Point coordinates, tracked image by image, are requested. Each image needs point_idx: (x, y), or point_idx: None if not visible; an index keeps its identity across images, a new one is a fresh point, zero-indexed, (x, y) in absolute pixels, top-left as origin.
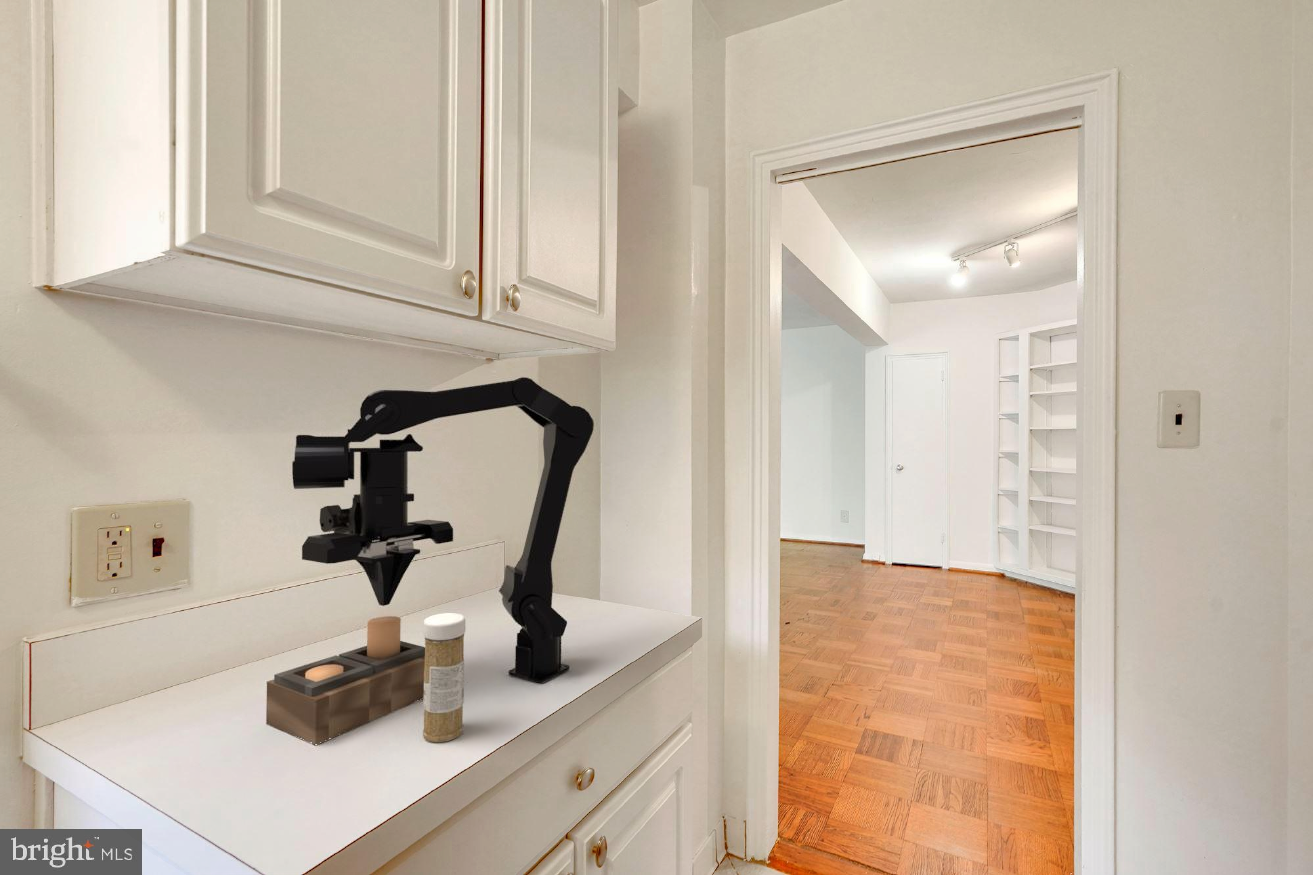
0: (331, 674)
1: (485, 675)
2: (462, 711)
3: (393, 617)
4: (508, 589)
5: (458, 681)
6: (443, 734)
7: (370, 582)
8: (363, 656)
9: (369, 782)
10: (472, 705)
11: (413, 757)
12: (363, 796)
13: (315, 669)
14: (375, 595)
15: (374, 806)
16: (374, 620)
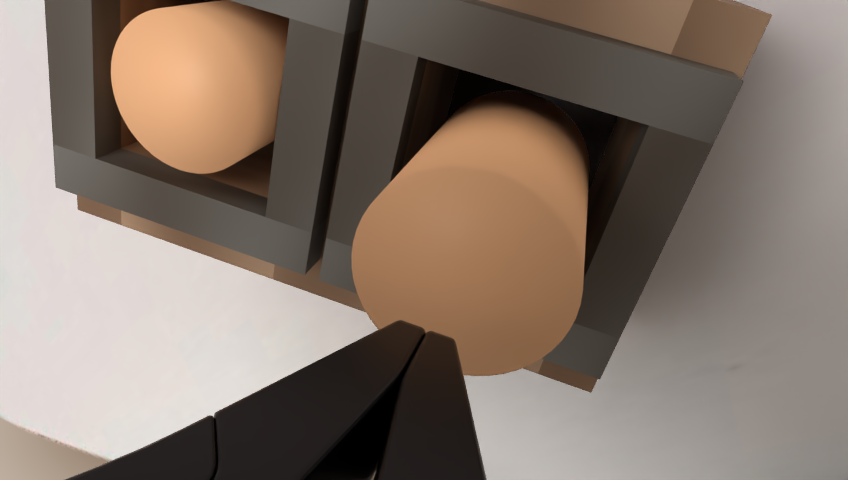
0: (168, 162)
1: (821, 406)
2: None
3: (551, 301)
4: None
5: None
6: None
7: (223, 414)
8: (392, 144)
9: (140, 377)
10: (535, 444)
11: None
12: (107, 390)
13: (173, 36)
14: (342, 350)
15: (100, 421)
16: (442, 210)
